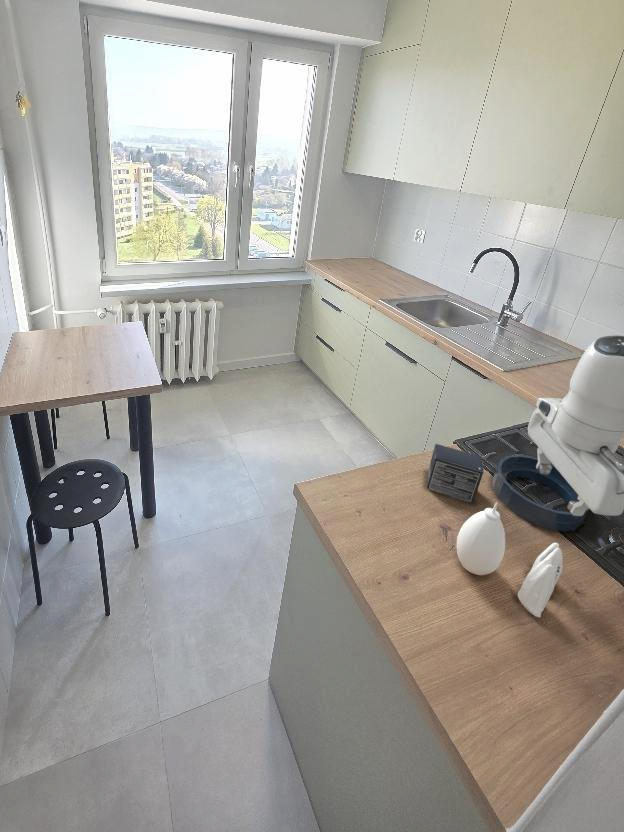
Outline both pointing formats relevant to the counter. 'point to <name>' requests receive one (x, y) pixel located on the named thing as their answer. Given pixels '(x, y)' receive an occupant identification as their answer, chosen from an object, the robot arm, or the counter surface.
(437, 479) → the small box
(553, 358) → the counter surface
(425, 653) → the counter surface
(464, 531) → the white bulb air blower
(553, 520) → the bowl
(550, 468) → the robot arm
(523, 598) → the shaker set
